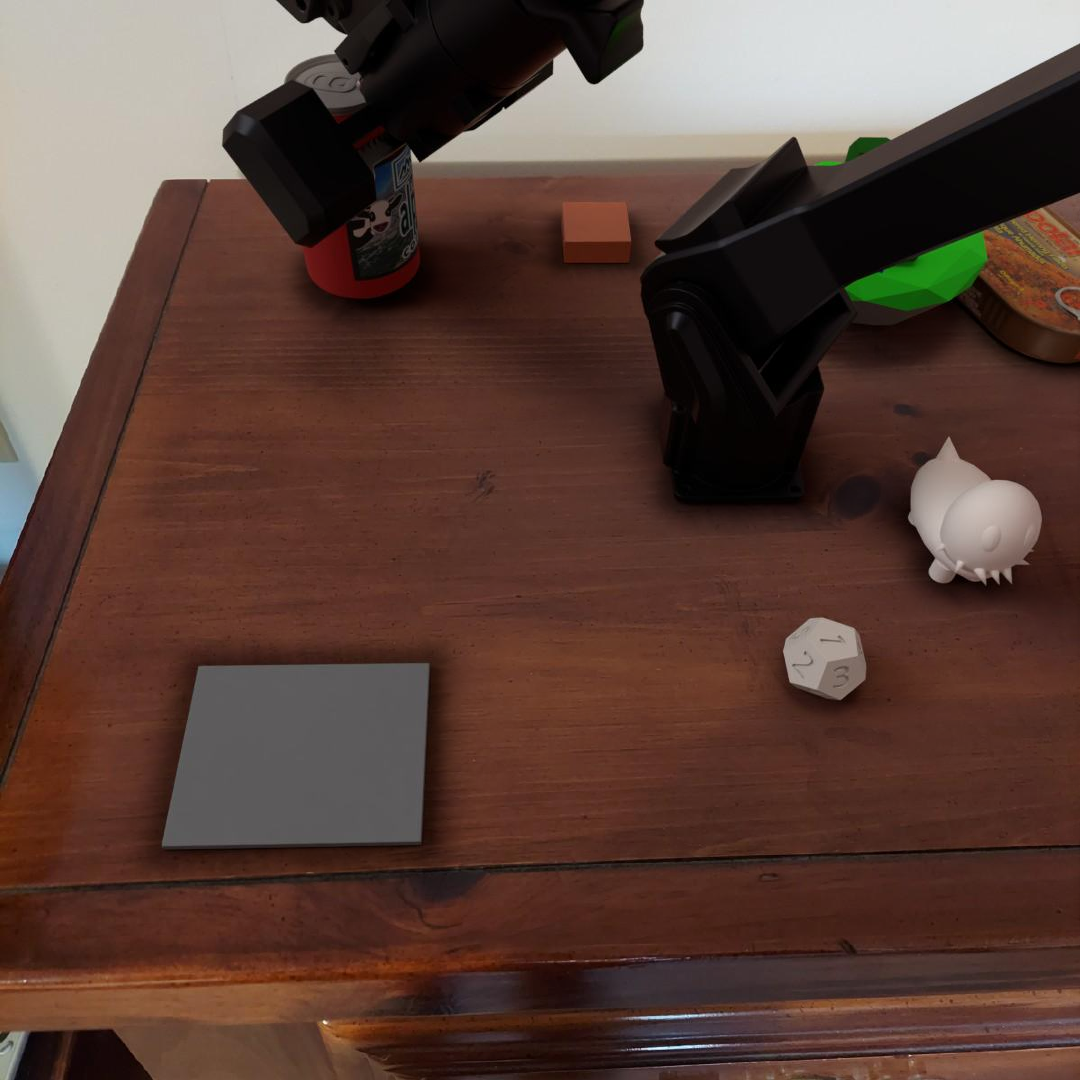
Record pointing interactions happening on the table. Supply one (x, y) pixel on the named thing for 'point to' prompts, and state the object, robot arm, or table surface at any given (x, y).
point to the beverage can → (381, 229)
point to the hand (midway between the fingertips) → (332, 165)
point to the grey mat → (302, 757)
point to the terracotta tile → (595, 232)
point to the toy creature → (972, 519)
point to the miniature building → (913, 271)
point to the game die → (825, 658)
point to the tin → (1031, 286)
